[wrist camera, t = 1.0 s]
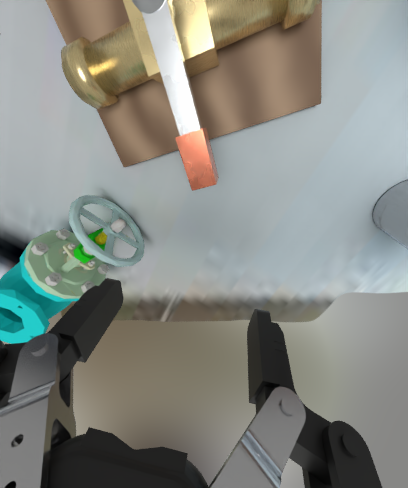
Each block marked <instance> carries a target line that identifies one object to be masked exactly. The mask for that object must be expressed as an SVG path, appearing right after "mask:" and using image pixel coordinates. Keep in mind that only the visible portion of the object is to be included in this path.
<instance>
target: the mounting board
mask: <svg viewBox="0 0 408 488" xmlns="http://www.w3.org/2000/svg"><path fill="white" fill-rule="evenodd" d="M46 2H47V4H48V6H49V8H50V11H51V13H52V15H53V17H54V19H55V21H56V23H57V26H58V28H59V30H60V32H61V34H62V36H63V38H64V40H65V43H66V45H68V44H70V43H72V42H73V41H75V40H77V39H79V38H80V37H84V38H86V39H88V40H89V41H90V42H93V41H95V40H97V39H98V38H100V37H102V36H104V35H106V34H107V33H109V32H111V31H113V30H115V29H117V28H118V27H120V26H122V25H124V24H126V23H127V22H129V21H130V20H129V17H128V14H127V11H126V8H125V5H124V2H123V0H46ZM321 8H322V0H321V2H320V3H319V4H318V5H317V6H315V9H314V12H313V14H312V16H311V17H310V18H309V19H307V20H305V21H303V22H300V23H298V24H296V25H293V26H291V27H289V28H287V29H284V30H283V29H282V27H281V24H280V22H279V23H276V24H274V25H272V26H270V27H267V28H265V29H263V30H261V31H258V32H256V33H254V34H252V35H249V36H247V37H245V38H243V39H240V40H238V41H236V42H234V43H231V44H229V45H227V46H225V47H222V48H220V49H218V50H217V54H218V60H219V65H218V66H216V67H214V68H211V69H209V70H207V71H204V72H202V73H200V74H197V75H195V76H192V77H190V78H189V80H190V84H191V87H192V91H193V95H194V99H195V103H196V107H197V111H198V115H199V119H200V123H201V126H202V128H206V129H207V133H208V137H209V140H210V139H213V138H216V137H219V136H222V135H225V134H228V133H232V132H235V131H238V130H241V129H244V128H247V127H250V126H253V125H256V124H259V123H262V122H265V121H269V120H272V119H275V118H278V117H281V116H284V115H287V114H290V113H293V112H296V111H299V110H302V109H305V108H309V107H312V106H315V105H318V104H321ZM96 109H97V108H96ZM97 111H98V113H99V115H100V117H101V119H102V122H103V124H104V126H105V128H106V130H107V132H108V134H109V136H110V139H111V141H112V143H113V145H114V147H115V149H116V151H117V154H118V156H119V158H120V160H121V162H122V164H123V166H124V167H127V166H130V165H133V164H136V163H139V162H142V161H145V160H148V159H151V158H154V157H158V156H161V155H164V154H167V153H170V152H173V151H176V150H179V148H178V145H177V142H176V139H175V138H176V137H179V136H180V134H179V131H178V128H177V124H176V121H175V118H174V115H173V111H172V108H171V105H170V102H169V99H168V95H167V92H166V89H165V86H164V84H162V83H160V82H158V81H156V80H154V79H151V80H148V81H146V82H144V83H142V84H139V85H137V86H135V87H133V88H130V89H128V90H126V91H124V92H121V93H119V98H118V101H117V102H116V103H113V104H111V105H109V106H107V107H104V108H102V109H97Z"/></svg>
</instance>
